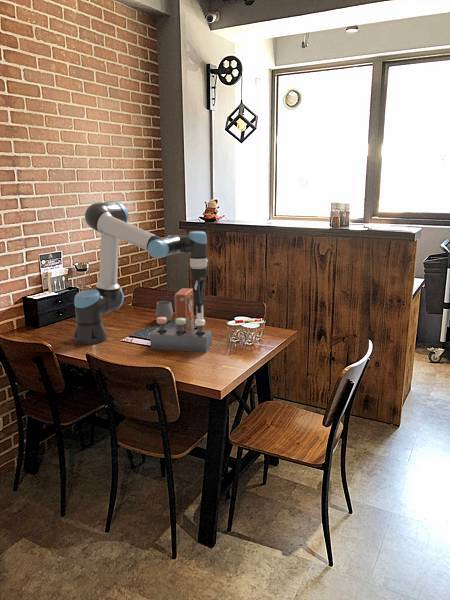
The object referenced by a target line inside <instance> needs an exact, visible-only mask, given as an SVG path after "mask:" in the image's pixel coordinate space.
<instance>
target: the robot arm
mask: <svg viewBox="0 0 450 600" xmlns="http://www.w3.org/2000/svg"><path fill="white" fill-rule="evenodd" d="M84 220H85V222H86V225H87V226H88V227H90V229H92V230H94V231H96V232H98V233H99V234H100V246H99V247H100V251H99V252H100V253H99V272H98V273H99V275H98V282H97V283H96V284H95V288H94V289H86V290H81V291H79V292H77V293H76V294H75V295H74V301H73V303H74V304H73V305H74V311H75V322H76V323H75V325H76V326H75V329H74V330H75V331H74V334H73V342H74V343H75V344H77V345H96V344H99V343H103V342H105V341H106V340H107V339H108V338H107V333H106V330H105V327H104V325H103V322H102V316H103V315H104V314H107V313H110V312H115V311H117V310H118V309H120V308H121V307H122V305H124V302H125V301H124V300H125V296H124V295H125V294H124V292H123V290H122V288H121V286H120V284H119V283H118V272H119V271H118V268H119V267H118V266H119V250H120V240H122V241H124V242H126V243H128V244H131V245H133V246H136V247H138V248H139V249H143V250H145V251H147V252H148V254H149V256H151V257H152V258H154V259H161V258H162V259H163V258H165V257H168V256H171V255H176V254H180V253H181V254H189V266H190V268H189V271H190V275H189V276H190V278H191V277H192V278H194V281H193V285H192V289H193V298H194V306H195V307H196V319H197V320H203V319H204V305H205V304H206V303H205V293H206V292H205V289H206V280H205V279H204V278H205V277H208V276H209V275H208V262H209V259H208V250H207V249H208V239H207V233H206V232H205V231H203V230H201V231H200V230H196V231H194V230H193V231H190V232H189V233H188V235H180V234H179V235H178V234H169V235H167V236H166V237H161V236H159V235H156V234H155V233H151V232H149V231H146V230H144V229H142V228H141V227H138V226H136V225H133V224H130V223H128V221H129V212H128V209H127V208H126V207H125V205H124V204H123V203H121V202H119V201H108V202H107V201H105V202H95V203H92V204H90V205H89V206H88V207H87V208H86V209H85V211H84ZM194 306H193V307H194Z"/></svg>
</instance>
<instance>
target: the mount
mask: <svg viewBox="0 0 450 600" xmlns="http://www.w3.org/2000/svg"><path fill="white" fill-rule="evenodd" d="M149 335H150V336H149V339H150V349H151V350H162V351H163V350H164V351H180V352H192V353H194V352H195V353H208V351H209V350H210V348H211V347H212V345H213V344H212V342H213V341H212V330H209V329H207V330H206V329H203V335H198V332H197V329H194V330H192V329H184V334H178V329H176V328H173V327H172V328H170V327H165V333H160V332H159V327H156V328H155V329H154V330H153V331H152V332H151V333H150V334H149Z"/></svg>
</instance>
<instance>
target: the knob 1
mask: <svg viewBox="0 0 450 600" xmlns="http://www.w3.org/2000/svg"><path fill="white" fill-rule="evenodd" d="M155 319H156V324H158V326H159V327H158V328H159V332H160V333H165V328H166V327H165V324H167V323H168V321H167V318H166V317H158V318H157V317H156V318H155Z"/></svg>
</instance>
